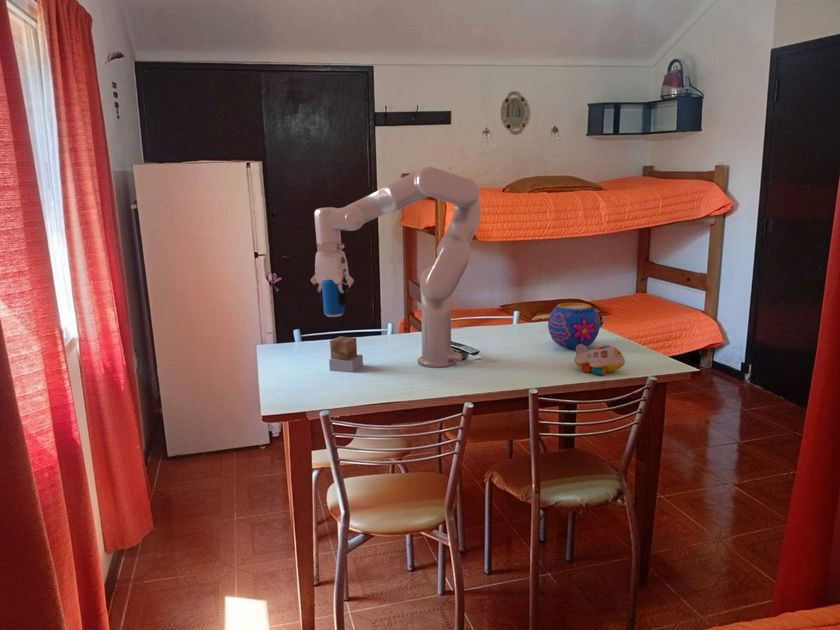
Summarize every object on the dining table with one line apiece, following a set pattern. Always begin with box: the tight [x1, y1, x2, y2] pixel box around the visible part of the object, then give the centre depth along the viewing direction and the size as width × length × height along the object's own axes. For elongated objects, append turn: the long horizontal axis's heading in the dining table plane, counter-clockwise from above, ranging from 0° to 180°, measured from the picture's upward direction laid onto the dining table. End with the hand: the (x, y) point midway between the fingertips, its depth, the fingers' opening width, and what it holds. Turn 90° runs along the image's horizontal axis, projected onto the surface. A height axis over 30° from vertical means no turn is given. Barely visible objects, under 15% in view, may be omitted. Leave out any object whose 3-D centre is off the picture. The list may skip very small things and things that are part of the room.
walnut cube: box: [329, 335, 358, 361], centre depth 213 cm, size 6×6×6 cm
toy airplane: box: [573, 344, 626, 376], centre depth 205 cm, size 13×9×15 cm
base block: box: [328, 354, 364, 373], centre depth 215 cm, size 8×8×4 cm
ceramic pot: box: [547, 302, 604, 350], centre depth 233 cm, size 18×18×15 cm
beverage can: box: [322, 279, 345, 318], centre depth 211 cm, size 6×6×12 cm
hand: (333, 303), depth 212 cm, fingers closed on beverage can, 6 cm apart
